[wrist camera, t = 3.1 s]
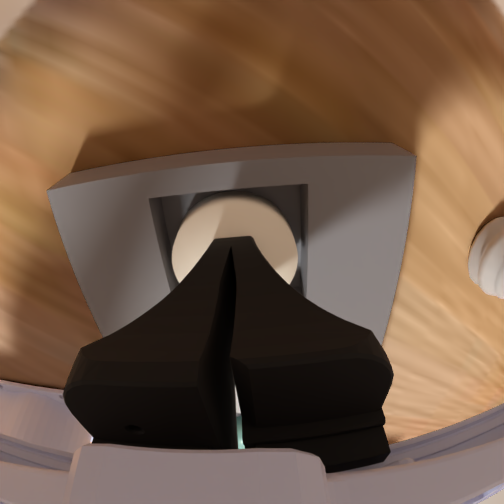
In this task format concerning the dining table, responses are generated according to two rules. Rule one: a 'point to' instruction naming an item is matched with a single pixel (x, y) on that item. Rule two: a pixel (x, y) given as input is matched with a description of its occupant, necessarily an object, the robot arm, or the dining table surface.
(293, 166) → the button board
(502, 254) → the rook chess piece
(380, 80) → the dining table surface
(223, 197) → the cream button
